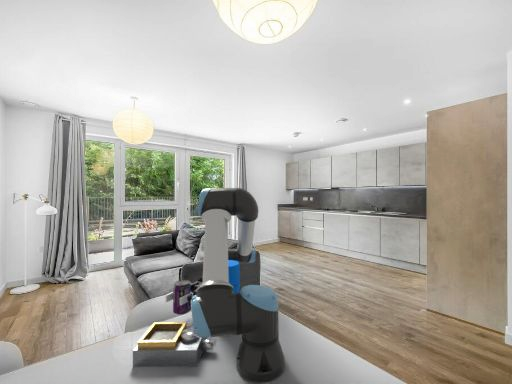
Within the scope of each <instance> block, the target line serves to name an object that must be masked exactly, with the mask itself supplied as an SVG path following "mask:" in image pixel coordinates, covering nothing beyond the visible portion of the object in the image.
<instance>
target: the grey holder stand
mask: <svg viewBox="0 0 512 384" xmlns="http://www.w3.org/2000/svg"><path fill="white" fill-rule="evenodd" d="M215 343H216V342H215V339H214V338H209V339H208V337H202V338H200V337H197V336H196V335H195V332H194V328H193V325H188V323H187V321H176V322H174V321H170V322H169V321H167V322H166V321H164V322H163V321H161V322H160V321H159V322H157V321H156V322H155V321H154V322H152V324H151V326H149V328H148V329H147V330H146V331H145V333H144V334H143V335H142V336H141V338H139V340H137V344H136V346H135V347H134V348H133V349H132V367H133V368H141V367H142V368H145V367H146V368H147V367H148V368H149V367H155V368H157V367H158V368H159V367H162V368H165V367H166V368H167V367H170V368H171V367H172V368H173V367H174V368H175V367H181V368H182V367H198V365H199V361H200V359H201V355H202V353H203V351H210V350H211V351H213V350H215V349H214V348H215Z"/></svg>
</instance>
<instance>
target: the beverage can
mask: <svg viewBox="0 0 512 384" xmlns="http://www.w3.org/2000/svg"><path fill="white" fill-rule="evenodd" d="M190 282H191V281H190V280H188V279H183V280H177V281H175V282H174V284H173V287H172V292H173V299H172V311H173V313H174V314H176V315H179V316H181V315H185V314H187V313H189V312H190V311H192V305H191V303H192V300H190V301H188V302H186V303H185V304H183V305H180V298H181V297H183V296H185V295H187V294H189V293H191V285H190Z"/></svg>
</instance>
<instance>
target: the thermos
mask: <svg viewBox="0 0 512 384" xmlns="http://www.w3.org/2000/svg"><path fill="white" fill-rule="evenodd" d="M240 270H241V268H240V263H239V262H238V261H235V260H228V274H229V283H230V284H231V285H232V286H233V291H234V293H240V291H241V288H240V287H241V283H240V280H241V279H240V277H241V275H240V272H241V271H240Z"/></svg>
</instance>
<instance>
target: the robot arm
mask: <svg viewBox="0 0 512 384" xmlns="http://www.w3.org/2000/svg"><path fill="white" fill-rule="evenodd" d="M197 205H198V206H197V213H198V216H199V217H201V220H202V222H203V223H205V224H204V239H203V240H204V245H203V263H202V269H203V270H202V276H200V277H199V278H198V279H197V281H195V282H193V283H192V282H191V281H190V285H191V293H189V294H187V295H185V296H183V297H181V298H180V305H183V304H185V303H186V302H188V301H190V300H191V318H192V326H193V328H194V332H195V335H196V336H197V337H200V338H202V337H207V338H209V339H213V338H214V337H215V338H216V337H228V336H235V335H236V336H237V335H238V336H239V335H241V340H240V343H239V347H238V350H237V353H236V358H235V365H236V366H235V367H236V370H237V372H238V374H239V375H240V376H241V377H242V378H243V379H245V380H248V381H250V382H253V383H254V382H255V383H267V382H270V381H271V382H272V381H273V380H275V379H277V378H278V377H280V376H281V375H282V374H283V372H284V370H285V366H286V364H285V363H286V362H285V360H286V359H285V354H284V351H283V348H282V345H281V342H280V338H279V337H280V336H279V335H280V334H279V332H280V331H279V309H280V308H279V307H280V306H279V300H278V299H279V297H278V295H277V292H275V290H273V289H272V288H270V287H267V286H263V285H260V284H259V285H258V284H248V285H245V286H242V287H241V288H240V293H234V291H233V286H232V285H231V284H230V283H229V274H228V260H235V261H238V262H239V264H250V263H251V264H252V263H255V261H256V250H255V248H253V242H254V236H255V235H254V234H255V227H256V226H255V225H256V220H257V219H258V217H259V206H258V202H257V201H256V198H255V197H254V195H252V193H251V192H249V191H248V190H246V189H244V188H241V187H216V188H215V187H210V188H203V189H202V190H201V191H200V193H199V197H198V203H197ZM233 216H234V217H235V216H236V218H237V219H238V224H237V247H236V248H229V236H228V233H229V232H228V231H229V230H228V228H229V226H228V223H229V222H231V220H232V217H233ZM171 301H173V291H171V292H169V293H167V294H165V303H169V302H171Z"/></svg>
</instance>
